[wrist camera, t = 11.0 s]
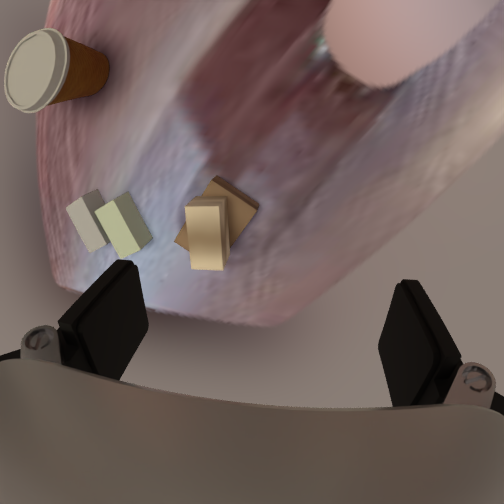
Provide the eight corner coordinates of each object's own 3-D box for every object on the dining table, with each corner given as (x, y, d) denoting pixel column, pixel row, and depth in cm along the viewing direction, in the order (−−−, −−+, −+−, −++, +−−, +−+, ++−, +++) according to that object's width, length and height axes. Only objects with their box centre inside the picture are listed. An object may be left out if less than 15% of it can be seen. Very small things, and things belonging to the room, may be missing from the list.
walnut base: (217, 174, 35) (211, 180, 33) (259, 203, 36) (257, 210, 34) (181, 232, 39) (174, 241, 36) (220, 257, 40) (215, 268, 37)
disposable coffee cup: (131, 48, 29) (73, 32, 18) (103, 116, 33) (39, 125, 22) (80, 34, 28) (20, 23, 17) (56, 97, 32) (-7, 102, 21)
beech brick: (196, 196, 34) (184, 206, 30) (226, 195, 33) (218, 206, 30) (201, 253, 37) (191, 269, 33) (229, 254, 36) (223, 270, 33)
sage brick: (110, 202, 38) (94, 211, 35) (128, 191, 37) (113, 199, 34) (134, 246, 41) (120, 258, 37) (153, 237, 40) (140, 249, 36)
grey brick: (82, 199, 38) (65, 208, 35) (98, 188, 38) (81, 196, 34) (104, 241, 41) (89, 253, 37) (121, 232, 40) (106, 244, 36)
